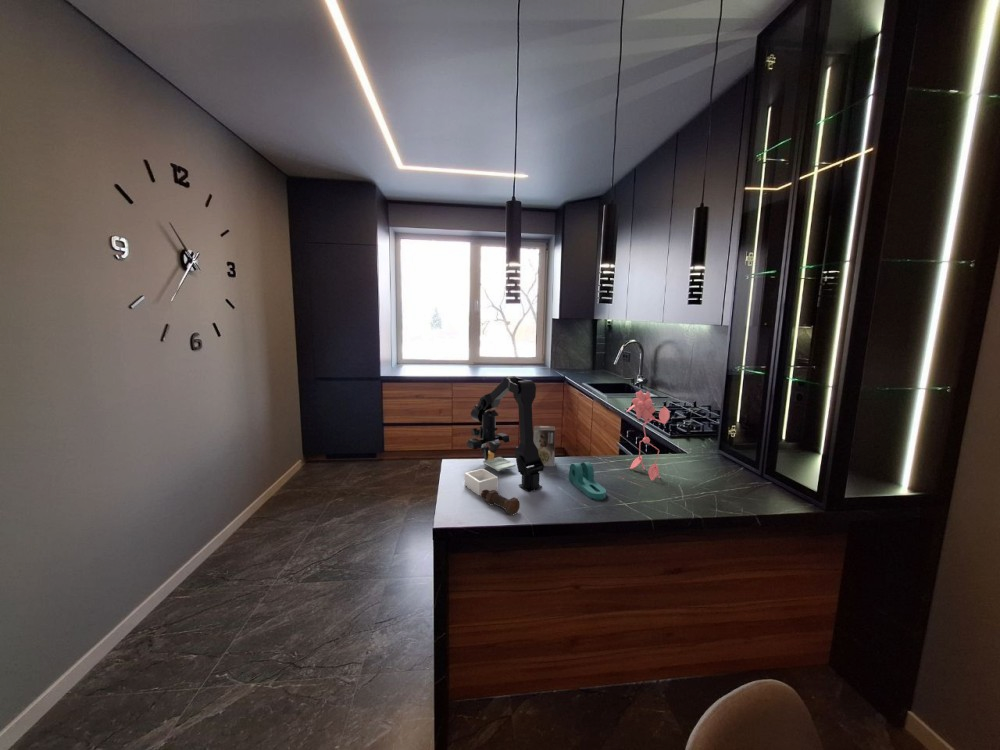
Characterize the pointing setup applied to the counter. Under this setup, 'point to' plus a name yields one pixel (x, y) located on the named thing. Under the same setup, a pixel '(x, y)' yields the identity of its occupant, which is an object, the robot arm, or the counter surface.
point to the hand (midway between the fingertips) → (488, 459)
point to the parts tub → (481, 481)
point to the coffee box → (545, 443)
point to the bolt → (501, 501)
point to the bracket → (586, 480)
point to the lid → (498, 462)
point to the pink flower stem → (645, 410)
